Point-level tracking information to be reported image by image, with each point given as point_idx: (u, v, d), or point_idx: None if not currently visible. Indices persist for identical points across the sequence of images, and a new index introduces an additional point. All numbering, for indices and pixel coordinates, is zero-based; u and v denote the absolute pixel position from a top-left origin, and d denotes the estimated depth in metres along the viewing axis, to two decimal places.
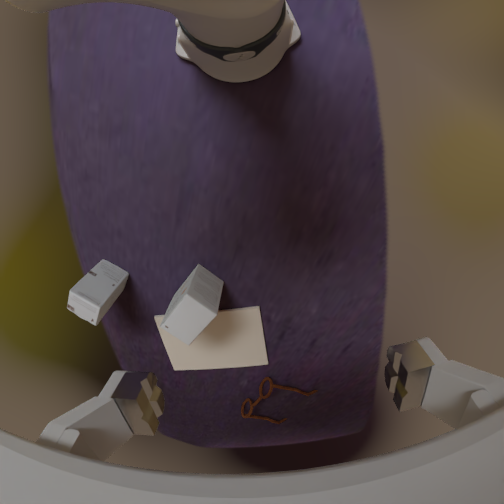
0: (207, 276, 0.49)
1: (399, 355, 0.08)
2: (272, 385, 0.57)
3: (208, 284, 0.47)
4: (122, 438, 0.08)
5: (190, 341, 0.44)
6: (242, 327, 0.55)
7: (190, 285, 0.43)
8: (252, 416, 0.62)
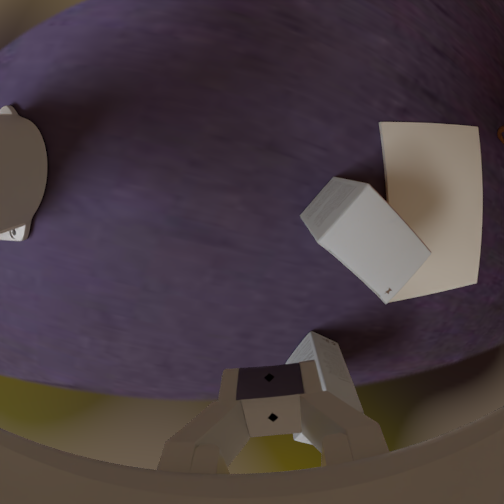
0: (317, 201, 0.27)
1: (272, 377, 0.08)
2: None
3: (325, 199, 0.25)
4: (241, 444, 0.08)
5: (423, 248, 0.20)
6: (416, 154, 0.27)
7: (312, 232, 0.23)
8: None
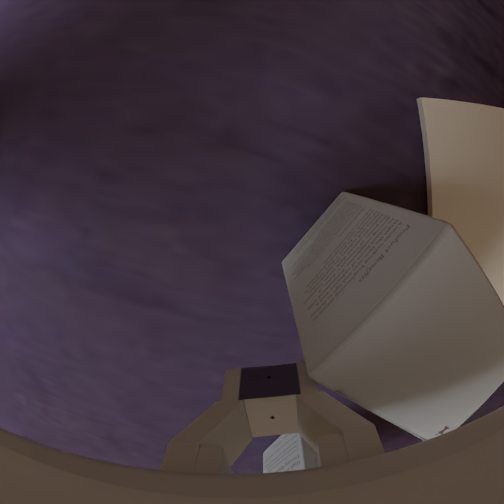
0: (312, 240, 0.15)
1: (269, 377, 0.08)
2: None
3: (329, 242, 0.13)
4: (243, 444, 0.08)
5: None
6: (474, 155, 0.14)
7: (299, 328, 0.10)
8: None
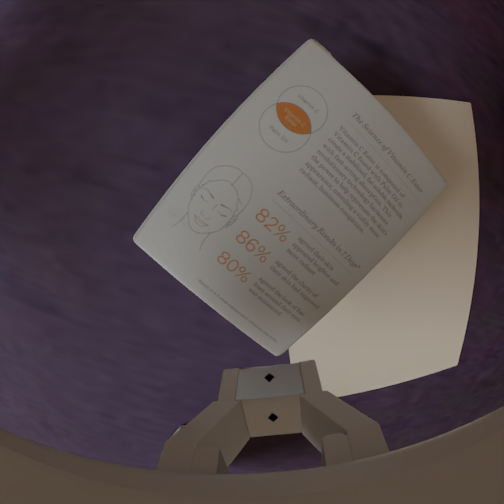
0: None
1: (272, 377, 0.08)
2: None
3: None
4: (240, 444, 0.08)
5: None
6: None
7: (265, 80, 0.09)
8: None
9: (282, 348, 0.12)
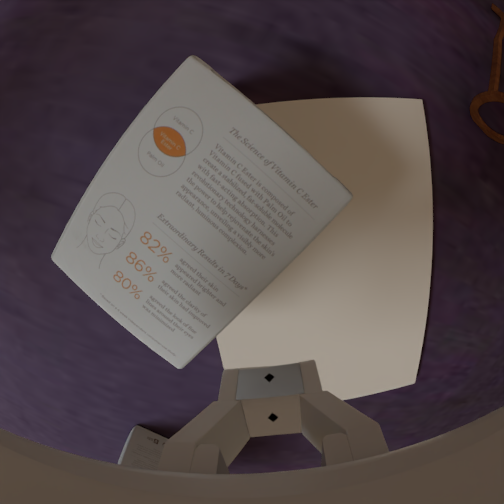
0: None
1: (272, 377, 0.08)
2: (492, 92, 0.11)
3: None
4: (240, 444, 0.08)
5: None
6: None
7: (146, 106, 0.09)
8: None
9: (182, 362, 0.12)
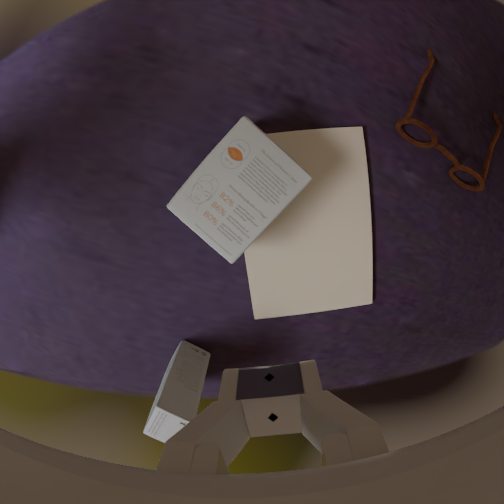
0: None
1: (273, 377, 0.08)
2: (405, 118, 0.25)
3: None
4: (241, 444, 0.08)
5: None
6: None
7: None
8: (484, 171, 0.26)
9: (234, 259, 0.27)
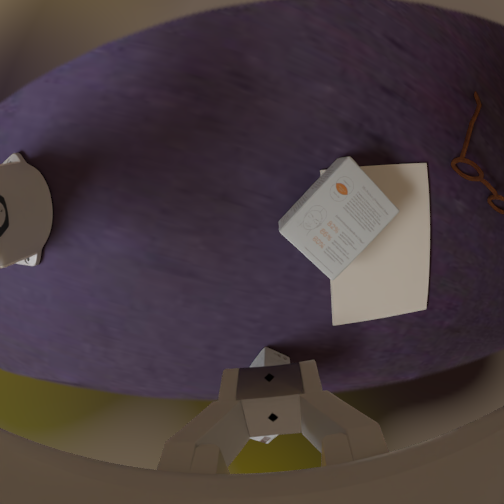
0: (292, 211, 0.31)
1: (272, 377, 0.08)
2: (461, 158, 0.29)
3: (305, 196, 0.31)
4: (240, 444, 0.08)
5: None
6: None
7: (332, 174, 0.28)
8: None
9: (334, 276, 0.31)
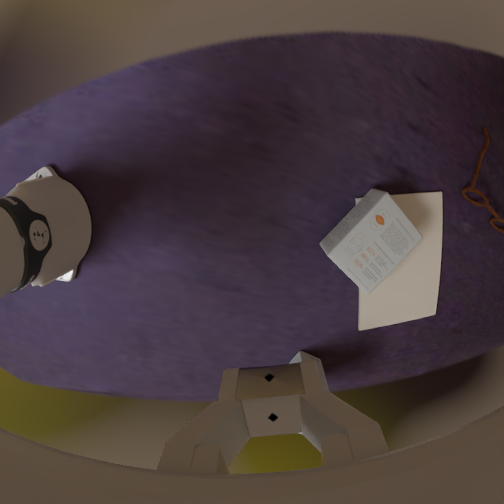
0: (335, 236, 0.36)
1: (272, 377, 0.08)
2: (471, 188, 0.34)
3: (346, 223, 0.36)
4: (241, 444, 0.08)
5: None
6: None
7: (373, 207, 0.33)
8: None
9: (369, 291, 0.35)
